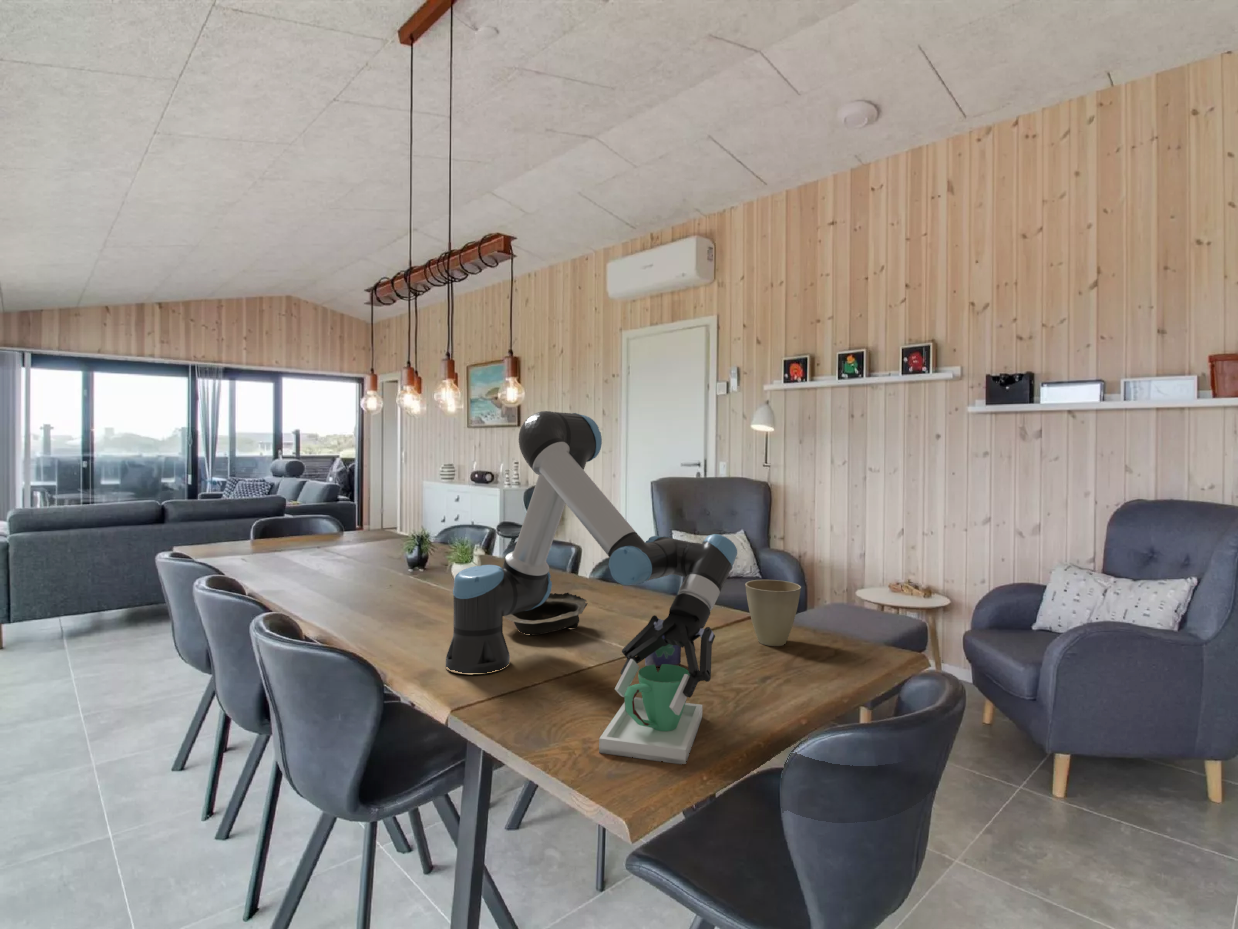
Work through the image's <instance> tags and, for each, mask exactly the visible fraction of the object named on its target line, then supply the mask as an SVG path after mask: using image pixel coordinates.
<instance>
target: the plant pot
mask: <svg viewBox="0 0 1238 929" xmlns="http://www.w3.org/2000/svg"><path fill="white" fill-rule="evenodd" d="M744 586H745V593H746V599H747V600H746V601H747V606H748V611H749V614H750V618H751V623H752V626H753V629H754V633H755V635H756V638H757V640H758V643H759V644H761V645H763V646H771V647H781V646H784V644H785V645H786V643H787V641H788V639H789V636H790V633H791V632H792V628H793V625H794V622H795V619H796V615H797V611H798V607H799V602H800V595H801V589H802V586H801V585H799V583H794V582H791V581H785V580H776V579H755V580H753V579H752V580H749V581H747V582H745V584H744Z"/></svg>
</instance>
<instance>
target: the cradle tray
mask: <svg viewBox="0 0 1238 929" xmlns="http://www.w3.org/2000/svg"><path fill="white" fill-rule="evenodd" d="M634 706H635V710H636V711H637V713H638V714H639V716H640V717H641V718H642V719H644V720H649V719H648V717H647V714H646V710H645V707H644V704H643V699H642V697H639V696H638V697H636V696H635V698H634ZM702 719H703V704H697V703H689V702H686V703H685V706H684V709H683V712H682V715H681V718H680V720H679V723H678V725H677V727H676V729H674V730H672V731H658V730H655V729H653V728H651V727H646V726H641V725H638V724H637V723H636V722H635V721H634V720H633V719H632V717H631V716H630V715H629V714H628V713H627V712H626V710H625V701H624V702H623V703H622V705H621V706H620V707H619V709H618V711H617V712H616V714H615V715H614V717H613V718H612V719H611V721H609V724H608V725H607V726H606V727H605V729H604V731H603V733H602V734H601V735H600V737H599V738H598V740H599V741H598V745H599V746H598V753H599V754H604V755H613V756H619V757H624V758H632V757H633V759H640V760H647V761H655V762H661V761H663V763H670V764H675V765H682V764H687V762H688V759H689V755H690V754H689V753H691V750H692V748H693V745H694V743H695V739H696V736H697V734H698V730H699V727H700V725H701V723H702V722H701V721H702ZM691 747H692V748H691ZM686 761H687V762H686Z"/></svg>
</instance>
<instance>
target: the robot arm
mask: <svg viewBox="0 0 1238 929" xmlns="http://www.w3.org/2000/svg"><path fill="white" fill-rule="evenodd" d="M602 440H603V439H602V432H601V431H600V427H599V425H598V424H597V422H596V421H595V420H594V419H592V418H591V417H590V416H587V415H585V414H579V413H577V412H557V411H550V410H549V411H548V410H543V411H538V412H535V413H533V414H531V415H530V416H528V417H527V418H526V419H525V420H524V422H523V423H522V425H521V426H520V428H519V433H518V445H519V450H520V454H521V455H522V457H523V459H524V460H525V462H526V463H527V465H528V466H529V467H530V468H531V469H532V471H533V472H534V474H536V475H537V476H538V477H537V480H536V483H535V485H534V489H533V492H532V495H531V498H530V501H529V504H528V507H527V510H526V513H525V516H524V519H523V522H522V525H521V528H520V532H519V535H518V538H517V541H516V544H515V546H514V549H513V550H512V551H511V552H509V553H507V554H506V556H505V558H504V561H503V564H502V567H501V566H499V565H496V564H482V565H475V566H469V567H467V568H464V569H462V570H460V571H459V572H458V573H457V574H456V575H455V577H454V579H453V580H454V581H453V590H452V594H453V635H452V639H451V641H450V644H449V647H448V650H447V653H446V656H445V668H446V667H448V668H449V669H450V670H455V671H458V672H462V673H487V672H492V671H495V670H500V669H502V668H504V667H506V666H507V665H508V664H509V662H510V658H511V656H510V651H509V649H508V644H507V643H506V639H505V636H504V633H503V628H504V627H503V624H504V623H503V620H504V616H507V615H510V614H514V613H518V612H522V611H528V610H531V609H534V608H535V607H538V606H540V605H541V604H543V603H544V602H545V601H546V600H547V598H548V597H549V595H550V593H551V592H552V587H553V582H552V580H551V578H552V575H551V573H550V566H549V564H548V562H547V559H548V557H549V553H550V550H551V548H552V544H553V541H554V539H555V535H556V532H557V530H558V528H559V524H560V522H561V518H562V515H563V512H564V510H565V508H566V507H565V506H567V507H568V508H569V509H570V511H571V512H572V513H573V514H574V515H575V517H576V518H577V519H578V520H579V522H580V523H581V524H582V526H583V527H584V528H585V529H586V530H587V532H588V533H589V534H590V535H591V536H592V537H593V539H594V541H596V543H597V544H598V545H599V546H600V548H601V549H602V550H603V551H604V553H605V554H606V555H607V556H608V557H609V561H608V568H609V571H610V575H611V577H612V578H613V580H615V582H617V583H618V584H620V585H623V586H633V585H641V584H643V583H645V582H648V581H651V580H654V579H655V580H656V579H660V578H664V577H667V576H672V575H674V576H680V577H683V578H684V579H683V582H682V583H681V586H680V587H679V590H678V591H677V595H676V596H675V597H674V599H673V601H672V603H671V605H670V607H669V612H668V615H667V617H666V618H665V619H661V618H658V616H657V615H652V616H651V618H650V620H649V621H648V623H647V624H646V626H644V627H643V628H642V629H641V630H640V631H639V632H638V633H637V634H636V636H634V637H633V638H632V639H631V640H630V641H629V642H628V643H627V644H626V645H625V646H624V647H623V648H622V649H621V653H622V655H623V656H624V657H625V658H626V661H625V663H624V665H623V666H622V668H621V670H620V675H621V676H620V678H619V680H618V682H617V683H616V686H615V688H614V690H615V692H617V694H618V695H619V696H620V697H622V698H624V694H625V692H626V690H627V688H628V687H629V686H631V685H632V682H633V680H634V679H635V677H636V674H638V671H639V670H640V666H639V665H638V664H639V663H640V662H642V661H643V660H646V657H648V656H649V655H651V654H652V653H653V652H655V651H656V650H658V649H659V648H661V647H662V646H667V645H668V644H670V645H677V646H679V647H681V649H682V648H684V652H685V657H686V662H687V667H688V668H687V669H688V673H689V674H690V676H689V675H687V674H684V676H683V678H682V681H681V683H680V685H679V687H678V689H677V691H676V693H675V696H674V698H673V700H672V702H671V704H670V706H669V707H670V708H671V709H672V711H673V712H674V713H675V714H676V715H680V712H681V710H682V708H683V706H684V703H685V701H686V702H687V699H690V698H691V697H693V694H694V692H695V690H696V688H697V685H698V683H700V682H702V681H703V682H707V683H708V682H710V681H711V679H712V657H713V656H712V649H713V648H712V647H713V642H714V640H715V639H716V634H715V633H714V631H713V630H712V628H710V626H706V624H707V622H708V620H709V618H710V616H711V611H712V610H713V609H714V607H715V605H716V602H717V600H718V598H719V596H720V594H721V591H722V589H723V587H724V584H726V583H725V582H726V581H727V579H728V577H729V575H730V572H731V571H732V570H733V568H734V565H735V561H736V559H737V555H738V549H737V546H736V544H735V543H734V542H733V541H732V540H730V539H729V538H728V537H726V536H724V535H722V534H717V533H712V534H709V535H707V536H706V537H705V539H704V540H703V542H702V543H700V542H692V541H688V540H687V541H686V540H682V539H677V538H671V537H669V536H665V535H663V536H661V535H660V536H659V535H658V536H657V535H653V536H650V537H648V539H647V540H646V541H645V540H644V539H643V538H642V536H640V534H638V533H637V531H636V530H635V529H634V528H633V526H632V525H631V524H630V523H629V522H628V521H627V520H626V518H625V517H624V516H623V515H622V514H621V513H620V511H619V510H618V508H616V507H615V505H614V504H613V503H612V502H611V501H610V500H609V499H608V497H607V496H606V495H605V494H604V492H602V490H601V489H600V488H599V487H598V486H597V484H596V483H595V482H594V481H593V480H592V478H591V477H590V475H588V474H587V472H586V471H585V467H586V464H587V463H588V462H591V461H592V460H594V459H596V458H597V456H598V455H599V454H600V452H601V448H602V444H603V442H602ZM705 626H706V627H705ZM662 627H663V628H662ZM704 627H705V628H704ZM661 628H662V629H661ZM663 635H664V637H665V639H663V638H662V636H663ZM699 638H700V652H699V663H698V659H697V655H696V646H695V642H694V641H696V640H697V639H699ZM510 663H511V662H510ZM698 664H699V665H698ZM509 665H510V664H509Z"/></svg>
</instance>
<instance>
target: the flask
mask: <svg viewBox="0 0 1238 929" xmlns="http://www.w3.org/2000/svg"><path fill="white" fill-rule="evenodd" d="M662 628H663V627H662ZM662 628H661V629H662ZM662 638H663V639H665V637H664V635H663V636H662ZM681 653H682V647H679V646H677V645H670V644H668V645H667V646H662V647H661V648H659V649H658V650H656V651H655V652H653V653H652V654H651V655H649V656H648V657H646V658H645V659H644V661H645V662H644V665H645V666H649V665H655V666H656V667H660V666H661V664H670V665H676V666H679V665H680V666H681V664H682V663H681V661H682V654H681ZM645 666H644V667H645Z"/></svg>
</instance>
